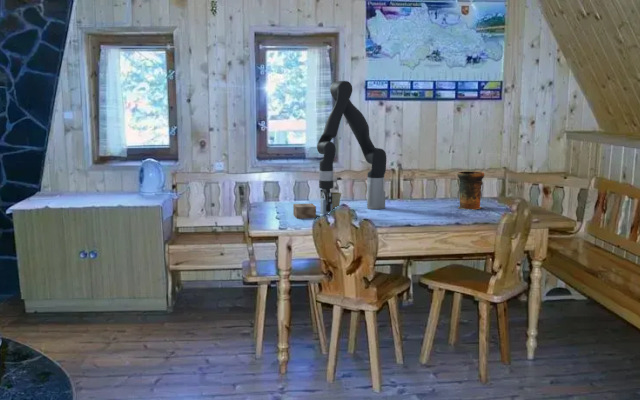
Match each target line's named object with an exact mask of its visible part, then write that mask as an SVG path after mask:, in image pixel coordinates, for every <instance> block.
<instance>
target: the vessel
mask: <svg viewBox="0 0 640 400" xmlns="http://www.w3.org/2000/svg"><path fill="white" fill-rule="evenodd" d="M457 177H458V180H459V206H457V207H458V209H461V210H469V209H472V210H471V211H474V210H480V209H482V207H481V197H482V184H483V179H484V177H485V173H484V172H482V171H475V170H472V171H468V170H467V171H466V170H465V171H459V172H458V173H457ZM469 211H470V210H469Z"/></svg>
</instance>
